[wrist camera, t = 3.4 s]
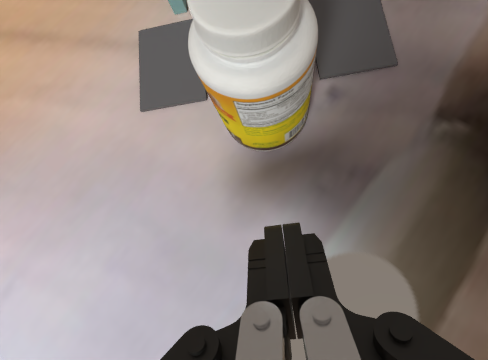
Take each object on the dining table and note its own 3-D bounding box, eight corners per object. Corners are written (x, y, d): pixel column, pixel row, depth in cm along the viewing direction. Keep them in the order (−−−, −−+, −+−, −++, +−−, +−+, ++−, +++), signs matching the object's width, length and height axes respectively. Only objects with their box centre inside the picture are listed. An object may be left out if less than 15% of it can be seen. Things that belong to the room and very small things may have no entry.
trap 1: (320, 79, 19) (320, 77, 19) (303, -4, 21) (303, -6, 21) (396, 65, 19) (397, 63, 19) (373, -19, 20) (374, -21, 20)
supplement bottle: (224, 85, 20) (163, -64, 11) (302, 74, 20) (315, -97, 10) (227, 159, 19) (162, 67, 9) (311, 150, 18) (337, 39, 9)
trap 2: (141, 112, 21) (140, 110, 21) (139, 32, 23) (138, 31, 23) (206, 100, 20) (206, 98, 20) (200, 19, 22) (199, 17, 22)
